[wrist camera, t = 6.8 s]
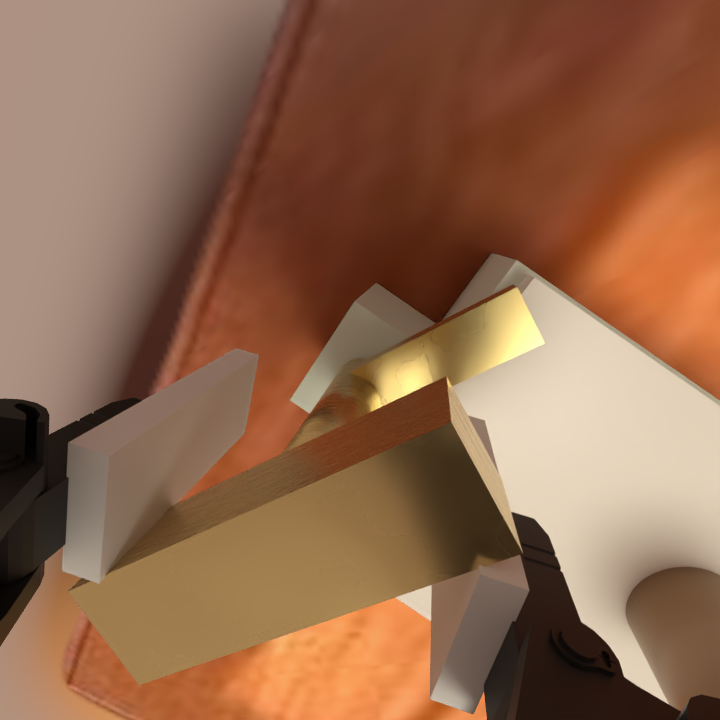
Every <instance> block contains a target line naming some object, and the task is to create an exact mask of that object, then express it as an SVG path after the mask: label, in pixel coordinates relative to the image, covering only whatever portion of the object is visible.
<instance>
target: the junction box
mask: <svg viewBox="0 0 720 720" xmlns="http://www.w3.org/2000/svg"><path fill="white" fill-rule="evenodd" d="M526 275H530V276H532V277H535V278H536V279H537V280H539V281H540V282H542V283H543V284H545V285H546V286H548V287H549V288H550V289H552V290H553V291H555V292H556V293H558V294H559V295H561V296H562V297H563V298H565V299H566V300H568V301H569V302H571V303H572V304H574V305H575V306H576V307H578V308H579V309H581V310H582V311H584V312H585V313H587V314H588V315H589V316H591V317H592V318H594V319H595V320H597V321H598V322H600V323H601V324H602V325H604V326H605V327H607V328H608V329H610V330H611V331H613V332H614V333H615V334H617V335H618V336H620V337H621V338H623V339H624V340H626V341H627V342H628V343H630V344H631V345H633V346H634V347H636V348H637V349H638V350H640V351H641V352H643V353H644V354H646V355H647V356H649V357H650V358H651V359H653V360H654V361H656V362H657V363H659V364H660V365H662V366H663V367H664V368H666V369H667V370H669V371H670V372H672V373H673V374H675V375H676V376H677V377H679V378H680V379H682V380H683V381H685V382H686V383H688V384H689V385H690V386H692V387H693V388H695V389H696V390H698V391H699V392H701V393H702V394H703V395H705V396H706V397H708V398H709V399H711V400H712V401H714V402H715V403H716V404H718V405H719V406H720V400H718V399H717V398H715V397H714V396H712V395H711V394H709V393H708V392H707V391H705V390H704V389H702V388H701V387H699V386H698V385H696V384H695V383H694V382H692V381H691V380H689V379H688V378H686V377H685V376H683V375H682V374H681V373H679V372H678V371H676V370H675V369H673V368H672V367H671V366H669V365H668V364H666V363H665V362H663V361H662V360H660V359H659V358H658V357H656V356H655V355H653V354H652V353H650V352H649V351H647V350H646V349H645V348H643V347H642V346H640V345H639V344H637V343H636V342H634V341H633V340H632V339H630V338H629V337H627V336H626V335H624V334H623V333H621V332H620V331H619V330H617V329H616V328H614V327H613V326H611V325H610V324H608V323H607V322H606V321H604V320H603V319H601V318H600V317H598V316H597V315H595V314H594V313H593V312H591V311H590V310H588V309H587V308H585V307H584V306H583V305H581V304H580V303H578V302H577V301H575V300H574V299H572V298H571V297H570V296H568V295H567V294H565V293H564V292H562V291H561V290H559V289H558V288H557V287H555V286H554V285H552V284H551V283H549V282H548V281H546V280H545V279H544V278H542V277H541V276H539V275H538V274H536V273H535V272H533V271H532V270H531V269H529V268H528V267H526V266H525V265H523V264H522V263H520V262H519V261H518V260H515V259H511V258H508V257H505V256H501V255H498V254H494V253H491V254H490V256H489V257H488V258H487V260H486V261H485V262H484V264H483V265H482V267H481V268H480V269H479V271H478V272H477V273H476V275H475V276H474V277H473V279H472V280H471V281H470V283H469V284H468V286H467V287H466V288H465V290H464V291H463V292H462V294H461V295H460V296H459V298H458V299H457V300H456V302H455V303H454V305H453V306H452V307H451V309H450V310H449V311H448V313H447V314H446V315H445V317H444V318H443V319H442V320H444V319H446V318H448V317H450V316H452V315H453V314H455V313H457V312H459V311H461V310H463V309H465V308H467V307H469V306H471V305H473V304H475V303H477V302H479V301H481V300H483V299H485V298H487V297H489V296H491V295H493V294H495V293H497V292H499V291H501V290H502V289H504V288H506V287H508V286H510V285H512V284H513V285H515V286H517V287H518V286H519V284H520V283H521V282H522V281H523V279H524V278H525V277H526ZM434 324H436V323H434V322H433V321H431V320H430V319H429V318H427V317H426V316H424V315H423V314H421V313H420V312H418V311H417V310H415V309H414V308H412V307H411V306H410V305H408V304H407V303H405V302H404V301H402V300H401V299H399V298H398V297H396V296H395V295H394V294H392V293H391V292H389V291H388V290H386V289H385V288H383V287H382V286H380V285H379V284H377V283H375V284H374V285H373V286H372V287H371V288H369V289H368V290H367V291H366V292H365V293H364V294H362V295H361V296H360V297H359V298H358V299H356V300H355V301H354V303H353V304H352V306H351V307H350V309H349V310H348V312H347V313H346V315H345V317H344V318H343V320H342V321H341V323H340V324H339V326H338V327H337V329H336V330H335V332H334V333H333V335H332V336H331V338H330V340H329V341H328V343H327V344H326V346H325V347H324V349H323V350H322V352H321V353H320V355H319V356H318V358H317V359H316V361H315V363H314V364H313V366H312V367H311V369H310V370H309V372H308V373H307V375H306V376H305V378H304V379H303V381H302V382H301V384H300V386H299V387H298V389H297V390H296V392H295V393H294V395H293V396H292V398H291V399H290V401H292V402H293V403H295V404H296V405H298V406H299V407H301V408H302V409H304V410H305V411H307V412H308V413H310V412H311V411H312V409H313V408H314V407H315V405H316V404H317V402H318V401H319V399H320V398H321V396H322V395H323V393H324V392H325V390H326V389H327V388H328V386H329V385H330V383H331V382H332V380H333V379H334V377H335V376H336V374H337V373H338V372H339V370H340V369H341V367H342V366H343V365H344V364H345V363H346V362H348V361H350V360H352V359H356V358H365V359H367V358H369V357H371V356H373V355H375V354H377V353H379V352H381V351H383V350H385V349H387V348H389V347H391V346H393V345H395V344H397V343H399V342H401V341H402V340H404V339H406V338H408V337H410V336H412V335H414V334H416V333H418V332H420V331H422V330H424V329H426V328H428V327H430V326H432V325H434Z"/></svg>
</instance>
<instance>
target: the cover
mask: <svg viewBox="0 0 720 720" xmlns="http://www.w3.org/2000/svg"><path fill="white" fill-rule="evenodd" d="M518 289H519V291H520V293H521V295H522V297H523V300H524V302H525V304H526V306H527V308H528V310H529V312H530V314H531V316H532V318H533V320H534V322H535V324H536V326H537V328H538V330H539V332H540V334H541V336H542V339H543V341H544V344H542V345H540V346H538V347H536V348H534V349H531V350H529V351H527V352H525V353H523V354H521V355H519V356H516V357H514V358H512V359H510V360H508V361H506V362H503V363H501V364H499V365H497V366H495V367H493V368H491V369H488V370H486V371H484V372H482V373H480V374H478V375H475V376H473V377H471V378H469V379H467V380H465V381H463V382H460V383H458V384H456V385H454V386H452V387H453V389H454V391H455V393H456V395H457V397H458V398H459V400H460V402H461V404H462V406H463V408H464V410H465V412H466V413H467V415H468V416H472V417H475V418H479V419H482V420H485V423H486V427H487V430H488V434H489V438H490V442H491V446H492V450H493V453H494V457H495V461H496V465H497V469H498V472H499V475H500V477H501V479H502V482H503V486H504V489H505V493H506V496H507V500H508V503H509V507H510V510H511V512H514V513H517V514H521V515H524V516H527V517H531V518H534V519H535V520H536V521H537V522H538V524H539V525H540V526H541V527H542V528H543V529H544V531H545V532H546V533H547V534H548V535H549V537H550V540H551V543H552V545H553V548H554V551H555V553H556V554H555V556H556V557H557V559H558V561H559V564H560V567H561V572H563V575H564V577H565V580H566V583H567V585H568V588H569V591H570V593H571V596H572V599H573V601H574V604H575V607H576V609H577V612H578V615H579V617H580V620H581V622H582V623H583V624H585V625H586V626H588V627H589V628H591V629H592V630H594V631H595V632H596V633H597V634H598V635H599V636H600V637H601V638H602V639H603V640H604V641H605V642H606V643H607V644H608V645H609V646H610V648H611V649H612V651H613V652H614V654H615V655H616V657H617V658H618V660H619V662H620V665H621V668H622V671H623V675H624V677H625V678H626V679H628V680H629V681H631V682H632V683H634V684H635V685H637V686H638V687H640V688H642V689H643V690H645V691H647V692H649V693H650V694H652V695H654V696H655V697H657V698H659V699H661V700H662V701H664V702H666V703H667V704H669V705H671V706H672V707H674V708H676V709H678V710H679V711H682V710H683V708H684V707H685V705H686V704H687V702H688V700H689V699H690V698H691V697H694V696H698V695H701V694H702V695H706V696H711V697H715V698H719V699H720V406H719V405H718V404H716V403H715V402H714V401H712V400H711V399H709V398H708V397H706V396H705V395H703V394H702V393H701V392H699V391H698V390H696V389H695V388H693V387H692V386H690V385H689V384H688V383H686V382H685V381H683V380H682V379H680V378H679V377H677V376H676V375H675V374H673V373H672V372H670V371H669V370H667V369H666V368H664V367H663V366H662V365H660V364H659V363H657V362H656V361H654V360H653V359H651V358H650V357H649V356H647V355H646V354H644V353H643V352H641V351H640V350H638V349H637V348H636V347H634V346H633V345H631V344H630V343H628V342H627V341H626V340H624V339H623V338H621V337H620V336H618V335H617V334H615V333H614V332H613V331H611V330H610V329H608V328H607V327H605V326H604V325H602V324H601V323H600V322H598V321H597V320H595V319H594V318H592V317H591V316H589V315H588V314H587V313H585V312H584V311H582V310H581V309H579V308H578V307H576V306H575V305H574V304H572V303H571V302H569V301H568V300H566V299H565V298H563V297H562V296H561V295H559V294H558V293H556V292H555V291H553V290H552V289H550V288H549V287H548V286H546V285H545V284H543V283H542V282H540V281H539V280H537V279H536V278H535V277H532V276H530V275H526V277H525V278H524V279H523V281H522V282H521V283H520V284H519V286H518ZM431 591H432V585H430V586H427V587H424V588H421V589H418V590H415V591H412V592H410V593H407V594H404V595H401V596H398V597H395V598H397V599H398V600H400V601H401V602H403V603H404V604H406V605H407V606H409V607H410V608H412V609H413V610H415V611H416V612H418V613H419V614H421V615H422V616H424V617H425V618H427V619H428V620H430V621H431Z"/></svg>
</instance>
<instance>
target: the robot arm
mask: <svg viewBox="0 0 720 720" xmlns="http://www.w3.org/2000/svg"><path fill="white" fill-rule="evenodd" d="M258 358H259V355H258V354H254V353H251V352H247V351H244V350H240V349H237V348H235V349H233V350H232V351H230V352H228V353H226V354H225V355H223V356H221V357H219V358H217V359H216V360H214V361H212V362H210V363H209V364H207V365H205V366H203V367H201V368H200V369H198V370H196V371H194V372H193V373H191V374H189V375H187V376H185V377H184V378H182V379H180V380H178V381H177V382H175V383H173V384H171V385H169V386H168V387H166V388H164V389H162V390H161V391H159V392H157V393H155V394H153V395H152V396H150V397H148V398H146V399H145V400H140V399H137V398H129V399H125V400H121V401H116V402H112V403H110V404H108V405H106V406H104V407H102V408H100V409H98V410H96V411H95V412H94V414H92V413H91V414H88V415H86V416H85V417H83V418H81V419H80V421H75V422H73V423H71V424H69V425H67V426H65V427H63V428H61V429H59V430H57V431H56V432H54V433H51V434H50V435H49V414H48V411H47V409H46V408H44V407H43V406H41V405H39V404H38V403H34V402H30V401H25V400H18V399H0V646H1V645H2V643H3V641H4V640H5V638H6V637H7V635H8V634H9V632H10V630H11V629H12V628H13V626H14V624H15V623H16V621H17V620H18V618H19V617H20V615H21V614H22V612H23V611H24V609H25V607H26V606H27V604H28V603H29V601H30V600H31V598H32V597H33V595H34V593H35V592H36V590H37V589H38V587H39V586H40V583H41V581H42V578H43V576H44V562H45V561H46V560H47V559H48V558H49V557H50V556H51V555H53V554H54V553H55V552H56V551H58V550H59V549H60V548H61V547H62V546H63V561H62V571H64V572H67V573H70V574H73V575H75V576H78V577H81V578H84V579H87V580H90V581H93V582H96V583H98V584H99V583H100V582H101V581H102V580H103V579H104V578H105V575H106V574H107V573H108V572H109V571H110V570H111V568H112V567H113V566H114V565H115V564H116V563H117V562H118V561H119V560H120V559H121V558H122V557H123V556H124V555H125V554H126V553H127V552H128V551H129V550H130V549H131V548H132V547H133V546H134V545H135V544H136V543H137V542H138V541H139V540H140V539H141V537H142V536H143V535H144V534H145V533H146V532H147V531H148V530H149V529H150V528H151V527H152V526H153V525H154V524H155V523H156V522H157V521H158V520H159V519H160V518H161V517H162V516H163V515H164V514H165V513H166V512H167V511H168V510H169V509H170V508H171V507H172V506H173V505H175V504H177V503H178V502H179V501H180V500H181V499H182V498H183V497H184V496H185V495H186V493H187V492H188V491H189V490H190V489H191V488H192V487H193V486H194V485H195V484H196V483H197V482H198V481H199V480H200V479H201V478H202V477H203V476H204V475H205V474H206V473H207V472H208V471H209V470H210V469H211V468H212V467H213V466H214V465H215V463H216V462H217V461H218V460H219V459H220V458H221V457H222V456H223V455H224V454H225V453H226V452H227V451H228V450H229V449H230V448H231V447H232V446H233V445H234V444H235V443H236V442H237V441H238V440H239V439H240V438H241V437H242V436H243V435H244V434H245V429H246V424H247V418H248V413H249V407H250V402H251V396H252V391H253V385H254V380H255V374H256V369H257V363H258ZM468 417H469V419H470V421H471V423H472V425H473V426H474V428H475V430H476V432H477V434H478V436H479V438H480V440H481V441H482V443H483V445H484V447H485V449H486V451H487V453H488V454H489V456H490V458H491V460H492V462H493V464H494V466H495V468H496V469H497V465H496V461H495V457H494V453H493V450H492V446H491V442H490V438H489V434H488V430H487V427H486V423H485V420H482V419H479V418H475V417H472V416H468ZM497 471H498V469H497ZM498 473H499V472H498ZM511 514H512V517H513V521H514V524H515V527H516V531H517V534H518V538H519V541H520V545H521V548H522V552H523V554H521V555H518V556H515V557H512V558H509V559H506V560H503V561H500V562H497V563H494V564H491V565H488V566H486V567H484V566H481V565H479V566H478V569H477V570H474V571H471V572H468V573H465V574H462V575H459V576H456V577H453V578H450V579H448V580H445V581H442V582H439V583H436V584H433V585H432V591H431V663H430V699H431V700H434V701H437V702H440V703H442V704H445V705H448V706H451V707H454V708H457V709H460V710H462V711H465V712H468V713H471V714H474V712H475V710H476V707H477V705H478V703H479V701H480V699H481V696H482V694H483V692H484V694H485V704H486V713H487V720H720V699H719V698H715V697H711V696H706V695H702V694H701V695H698V696H694V697H691V698H690V699H689V700H688V702H687V704H686V705H685V707H684V708H683V710H682V711H679V710H678V709H676V708H674V707H672V706H671V705H669V704H667V703H666V702H664V701H662V700H661V699H659V698H657V697H655V696H654V695H652V694H650V693H649V692H647V691H645V690H643V689H642V688H640V687H638V686H637V685H635V684H634V683H632V682H631V681H629V680H628V679H626V678H625V677H624V675H623V671H622V668H621V665H620V662H619V660H618V658H617V657H616V655H615V654H614V652H613V651H612V649H611V648H610V646H609V645H608V644H607V643H606V642H605V641H604V640H603V639H602V638H601V637H600V636H599V635H598V634H597V633H596V632H595V631H594V630H592V629H591V628H589V627H588V626H586V625H585V624H583V623H582V622H581V620H580V617H579V615H578V612H577V609H576V607H575V604H574V601H573V599H572V596H571V593H570V591H569V588H568V585H567V583H566V580H565V577H564V575H563V572H561V567H560V564H559V561H558V559H557V557H556V556H555V554H556V553H555V551H554V548H553V545H552V543H551V540H550V537H549V535H548V534H547V533H546V532H545V531H544V529H543V528H542V527H541V526H540V525H539V524H538V522H537V521H536V520H535V519H534V518H531V517H527V516H524V515H521V514H517V513H514V512H511Z"/></svg>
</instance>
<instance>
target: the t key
mask: <svg viewBox="0 0 720 720" xmlns="http://www.w3.org/2000/svg"><path fill="white" fill-rule="evenodd" d="M542 344H544V341H543V339H542V336H541V334H540V332H539V330H538V328H537V326H536V324H535V322H534V320H533V318H532V316H531V314H530V312H529V310H528V308H527V306H526V304H525V302H524V300H523V297H522V295H521V293H520V291H519V289H518V287H517V286H515V285H513V284H512V285H510V286H508V287H506V288H504V289H502V290H501V291H499V292H497V293H495V294H493V295H491V296H489V297H487V298H485V299H483V300H481V301H479V302H477V303H475V304H473V305H471V306H469V307H467V308H465V309H463V310H461V311H459V312H457V313H455V314H453V315H452V316H450V317H448V318H446V319H444V320H442V321H440V322H438V323H436V324H434V325H432V326H430V327H428V328H426V329H424V330H422V331H420V332H418V333H416V334H414V335H412V336H410V337H408V338H406V339H404V340H402V341H401V342H399V343H397V344H395V345H393V346H391V347H389V348H387V349H385V350H383V351H381V352H379V353H377V354H375V355H373V356H371V357H369V358H367V359H365V358H356V359H352V360H350V361H348V362H346V363H345V364H344V365H343V366H342V367H341V369H340V370H339V372H338V373H337V374H336V376H335V377H334V379H333V380H332V382H331V383H330V385H329V386H328V388H327V389H326V390H325V392H324V393H323V395H322V396H321V398H320V399H319V401H318V402H317V404H316V405H315V407H314V408H313V409H312V411H311V412H310V414H309V415H308V417H307V418H306V420H305V421H304V423H303V424H302V426H301V427H300V428H299V430H298V431H297V433H296V434H295V436H294V437H293V439H292V440H291V442H290V443H289V444H288V446H287V447H286V449H285V450H284V452H283V453H282V454H281V455H278V456H276V457H274V458H272V459H270V460H268V461H266V462H264V463H261V464H259V465H257V466H255V467H253V468H251V469H249V470H247V471H245V472H242V473H240V474H238V475H236V476H234V477H232V478H230V479H228V480H226V481H223V482H221V483H219V484H217V485H215V486H213V487H211V488H209V489H206V490H204V491H202V492H200V493H198V494H196V495H194V496H192V497H190V498H187V499H185V500H183V501H181V502H179V503H177V504H175V505H173V506H172V507H171V508H170V509H169V510H168V511H167V512H166V513H165V514H164V515H163V516H162V517H161V518H160V519H159V520H158V521H157V522H156V523H155V524H154V525H153V526H152V527H151V528H150V529H149V530H148V531H147V532H146V533H145V534H144V535H143V536H142V537H141V539H140V540H139V541H138V542H137V543H136V544H135V545H134V546H133V547H132V548H131V549H130V550H129V551H128V552H127V553H126V554H125V555H124V556H123V557H122V558H121V559H120V560H119V561H118V562H117V563H116V564H115V565H114V566H113V567H112V568H111V570H110V571H109V572H108V573H107V574H106V575H105V578H104V579H103V580H102V581H101V582H100V583H99V584H98V583H96V582H93V581H90V580H87V579H84V578H81V579H80V580H79V581H78V582H77V583H76V584H75V585H74V586H73V587H72V588H71V589H70V590H69V591H68V593H69V594H70V595H71V597H72V598H73V599H74V601H75V602H76V603H77V605H78V606H79V607H80V609H81V610H82V611H83V612H84V614H85V615H86V616H87V618H88V619H89V620H90V622H91V623H92V624H93V626H94V627H95V628H96V629H97V631H98V632H99V633H100V635H101V636H102V637H103V639H104V640H105V641H106V643H107V644H108V645H109V646H110V648H111V649H112V650H113V652H114V653H115V654H116V656H117V657H118V658H119V659H120V661H121V662H122V663H123V665H124V666H125V667H126V669H127V670H128V671H129V673H130V674H131V675H132V676H133V678H134V679H135V680H136V682H137V683H138V684H139V685H141V684H144V683H146V682H149V681H152V680H155V679H158V678H161V677H164V676H167V675H170V674H173V673H176V672H179V671H182V670H184V669H187V668H190V667H193V666H196V665H199V664H202V663H205V662H208V661H211V660H214V659H217V658H220V657H222V656H225V655H228V654H231V653H234V652H237V651H240V650H243V649H246V648H249V647H252V646H255V645H258V644H260V643H263V642H266V641H269V640H272V639H275V638H278V637H281V636H284V635H287V634H290V633H293V632H296V631H298V630H301V629H304V628H307V627H310V626H313V625H316V624H319V623H322V622H325V621H328V620H331V619H334V618H336V617H339V616H342V615H345V614H348V613H351V612H354V611H357V610H360V609H363V608H366V607H369V606H372V605H374V604H377V603H380V602H383V601H386V600H389V599H392V598H395V597H398V596H401V595H404V594H407V593H410V592H412V591H415V590H418V589H421V588H424V587H427V586H430V585H433V584H436V583H439V582H442V581H445V580H448V579H450V578H453V577H456V576H459V575H462V574H465V573H468V572H471V571H474V570H477V569H478V566H479V565H481V566H484V567H486V566H488V565H491V564H494V563H497V562H500V561H503V560H506V559H509V558H512V557H515V556H518V555H521V554H523V552H522V548H521V545H520V541H519V538H518V534H517V531H516V527H515V524H514V521H513V517H512V514H511V510H510V507H509V503H508V500H507V496H506V493H505V489H504V486H503V482H502V479H501V477H500V475H499V473H498V471H497V469H496V468H495V466H494V464H493V462H492V460H491V458H490V456H489V454H488V453H487V451H486V449H485V447H484V445H483V443H482V441H481V440H480V438H479V436H478V434H477V432H476V430H475V428H474V426H473V425H472V423H471V421H470V419H469V417H468V415H467V413H466V412H465V410H464V408H463V406H462V404H461V402H460V400H459V398H458V397H457V395H456V393H455V391H454V389H453V387H452V386H454V385H456V384H458V383H460V382H463V381H465V380H467V379H469V378H471V377H473V376H475V375H478V374H480V373H482V372H484V371H486V370H488V369H491V368H493V367H495V366H497V365H499V364H501V363H503V362H506V361H508V360H510V359H512V358H514V357H516V356H519V355H521V354H523V353H525V352H527V351H529V350H531V349H534V348H536V347H538V346H540V345H542Z"/></svg>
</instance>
